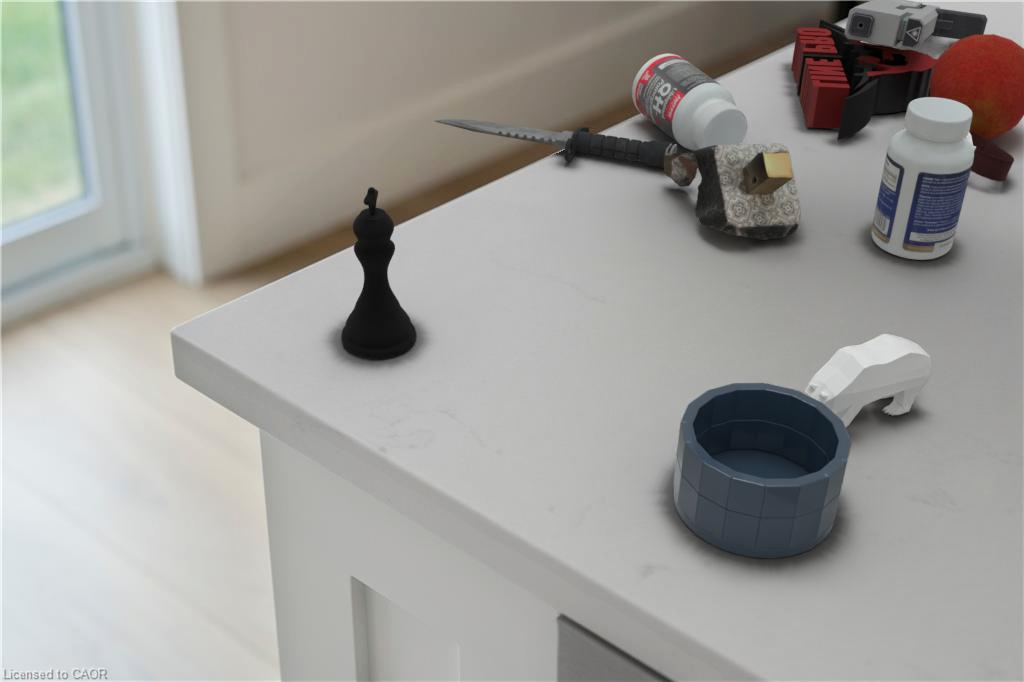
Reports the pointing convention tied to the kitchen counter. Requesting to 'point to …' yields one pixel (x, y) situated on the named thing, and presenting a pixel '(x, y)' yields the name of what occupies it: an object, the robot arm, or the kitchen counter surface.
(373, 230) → the chess piece
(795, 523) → the bowl
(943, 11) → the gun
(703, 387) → the kitchen counter surface
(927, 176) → the pill bottle
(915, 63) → the extruded letter emblem
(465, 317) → the kitchen counter surface
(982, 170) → the watch
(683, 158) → the grey patterned lump
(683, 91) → the pill bottle
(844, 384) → the white low-poly animal
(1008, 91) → the apple
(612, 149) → the knife
